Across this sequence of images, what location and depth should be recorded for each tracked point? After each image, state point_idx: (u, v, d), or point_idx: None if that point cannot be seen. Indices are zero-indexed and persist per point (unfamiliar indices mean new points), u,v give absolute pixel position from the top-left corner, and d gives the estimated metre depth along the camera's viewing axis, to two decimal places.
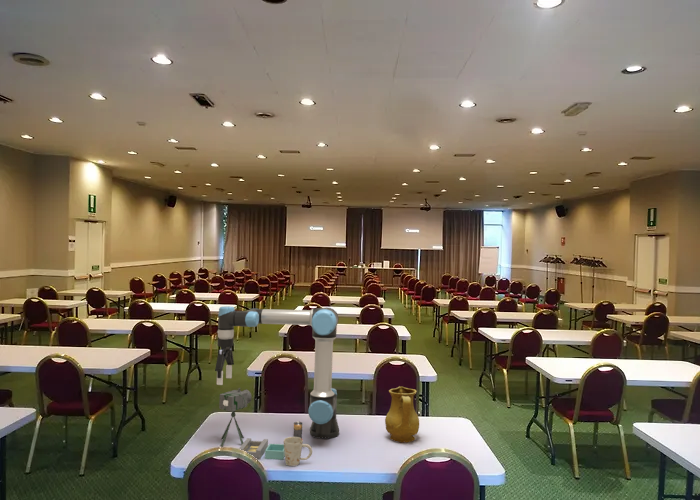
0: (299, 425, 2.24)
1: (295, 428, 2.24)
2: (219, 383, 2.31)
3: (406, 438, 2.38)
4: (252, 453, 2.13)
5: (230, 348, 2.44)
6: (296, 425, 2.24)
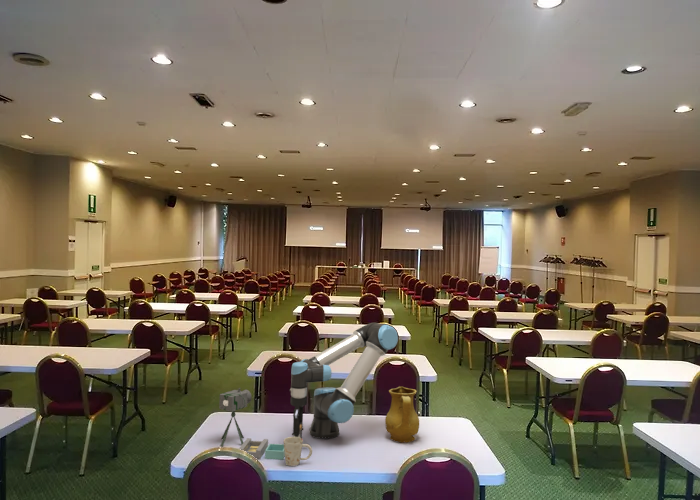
0: None
1: None
2: None
3: (406, 438, 2.38)
4: (252, 453, 2.13)
5: None
6: None
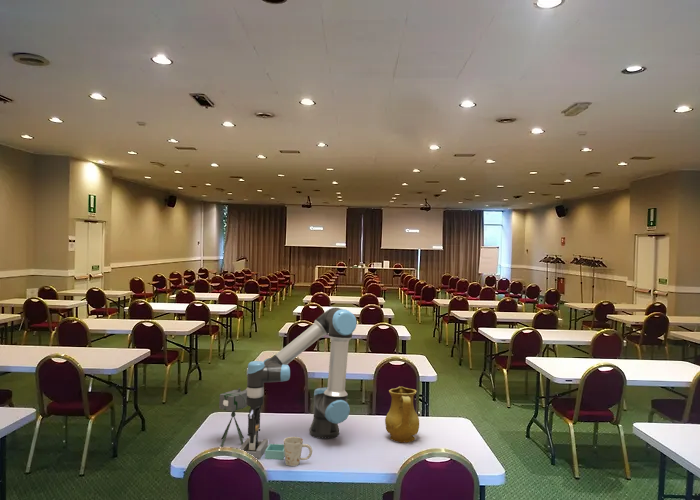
0: None
1: None
2: (252, 448, 2.17)
3: (406, 438, 2.38)
4: (252, 453, 2.13)
5: None
6: None
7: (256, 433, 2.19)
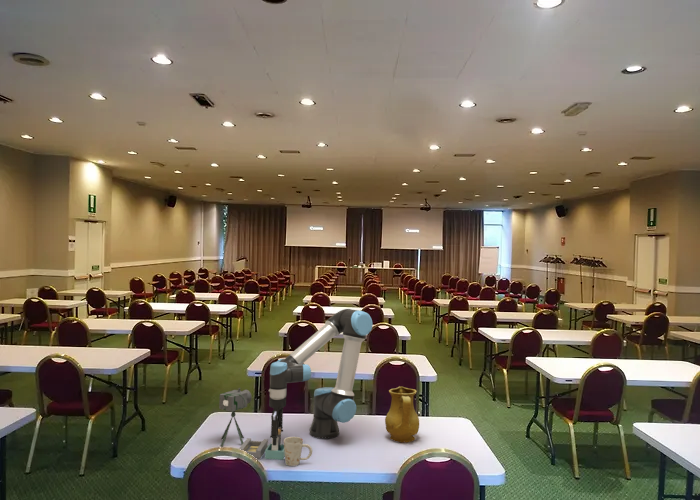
0: (278, 429, 2.16)
1: None
2: (274, 450, 2.14)
3: (406, 438, 2.38)
4: (252, 453, 2.13)
5: (281, 409, 2.23)
6: None
7: (279, 436, 2.16)
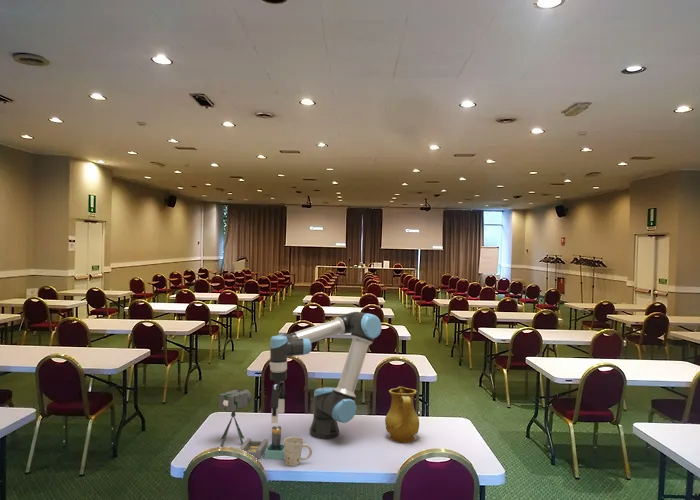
0: (278, 429, 2.16)
1: (273, 433, 2.16)
2: (274, 421, 2.11)
3: (406, 438, 2.38)
4: (252, 453, 2.13)
5: (282, 381, 2.24)
6: (274, 429, 2.16)
7: (279, 436, 2.16)
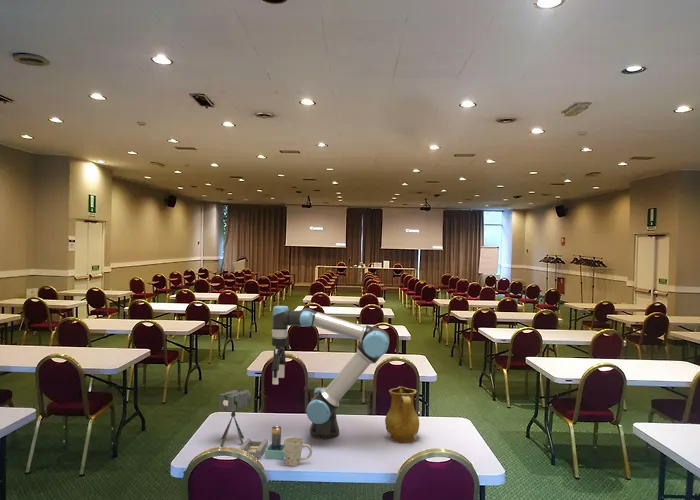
0: (278, 429, 2.16)
1: (273, 433, 2.16)
2: (275, 383, 2.30)
3: (406, 438, 2.38)
4: (252, 453, 2.13)
5: (283, 348, 2.44)
6: (274, 429, 2.16)
7: (279, 436, 2.16)
